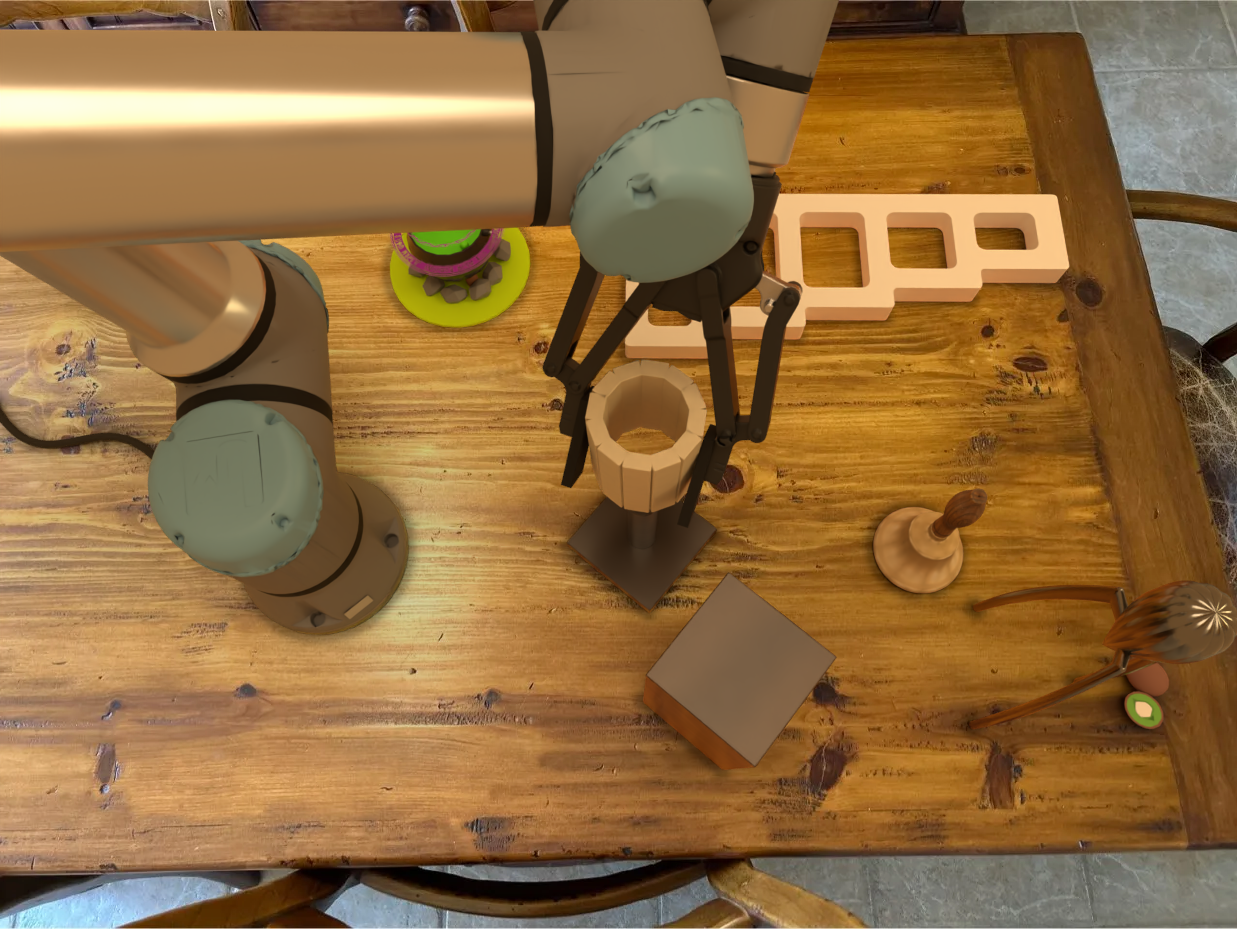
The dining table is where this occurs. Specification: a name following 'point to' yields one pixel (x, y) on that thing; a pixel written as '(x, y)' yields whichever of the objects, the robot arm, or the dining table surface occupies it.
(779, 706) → the stand block
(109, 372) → the dining table surface
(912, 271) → the holder
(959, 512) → the hand bell
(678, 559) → the tape peg
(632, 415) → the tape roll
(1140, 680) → the kiwi fruit
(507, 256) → the toy cauldron
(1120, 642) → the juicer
